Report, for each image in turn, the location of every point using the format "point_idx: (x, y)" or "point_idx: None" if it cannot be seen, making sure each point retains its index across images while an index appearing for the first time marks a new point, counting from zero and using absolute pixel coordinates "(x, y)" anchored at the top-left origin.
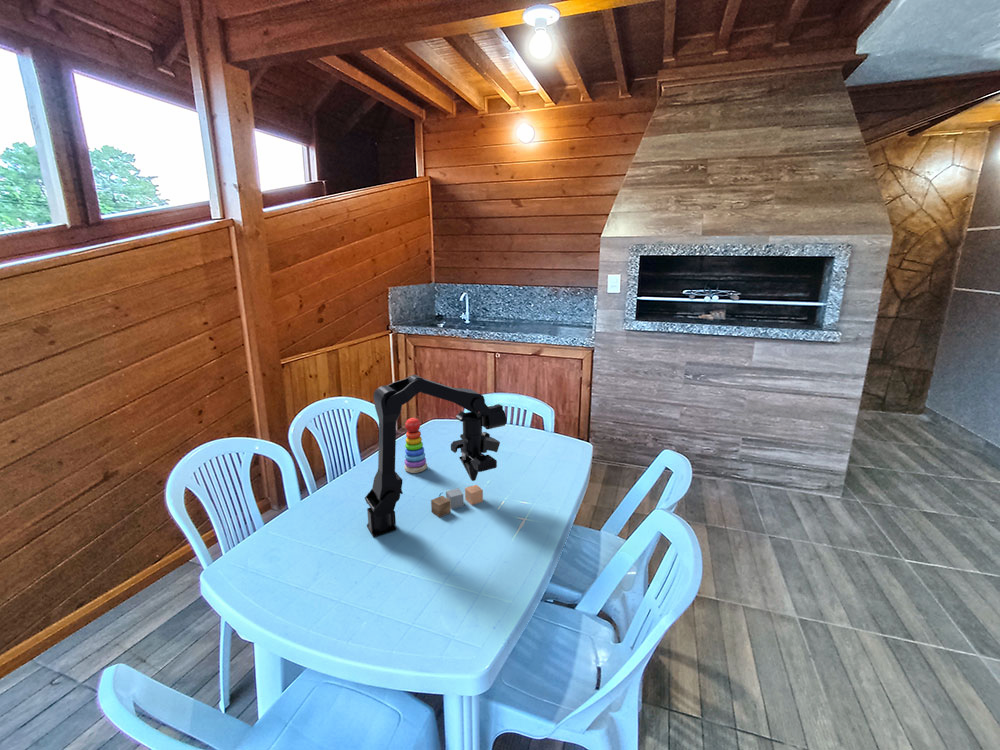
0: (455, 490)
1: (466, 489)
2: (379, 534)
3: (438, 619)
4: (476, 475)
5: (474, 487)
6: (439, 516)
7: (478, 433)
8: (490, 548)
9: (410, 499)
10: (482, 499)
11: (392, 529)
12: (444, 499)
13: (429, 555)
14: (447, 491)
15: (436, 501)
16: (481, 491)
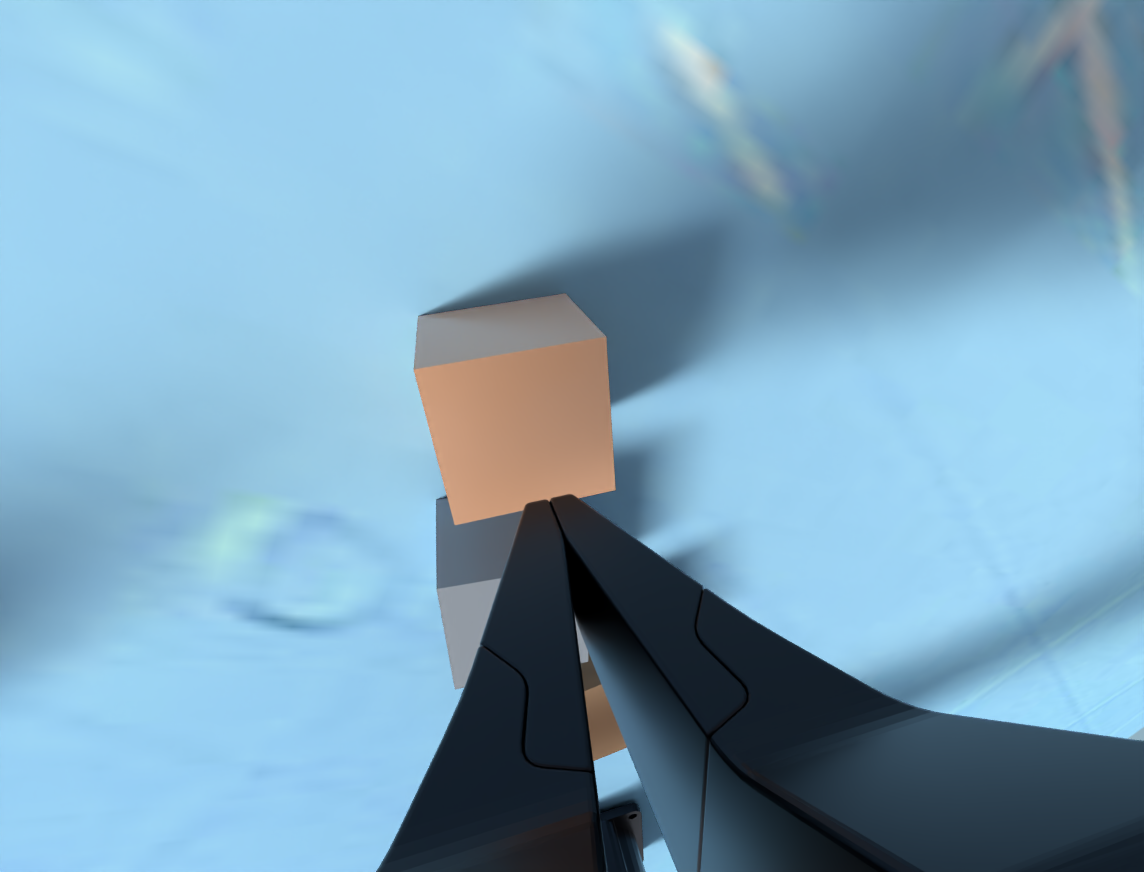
0: (475, 617)
1: (496, 514)
2: (641, 847)
3: (1129, 667)
4: (632, 547)
5: (493, 419)
6: None
7: None
8: (1068, 446)
9: (308, 782)
10: (570, 304)
11: (637, 820)
12: (600, 700)
13: (886, 686)
14: (466, 678)
15: (600, 744)
16: (602, 350)
